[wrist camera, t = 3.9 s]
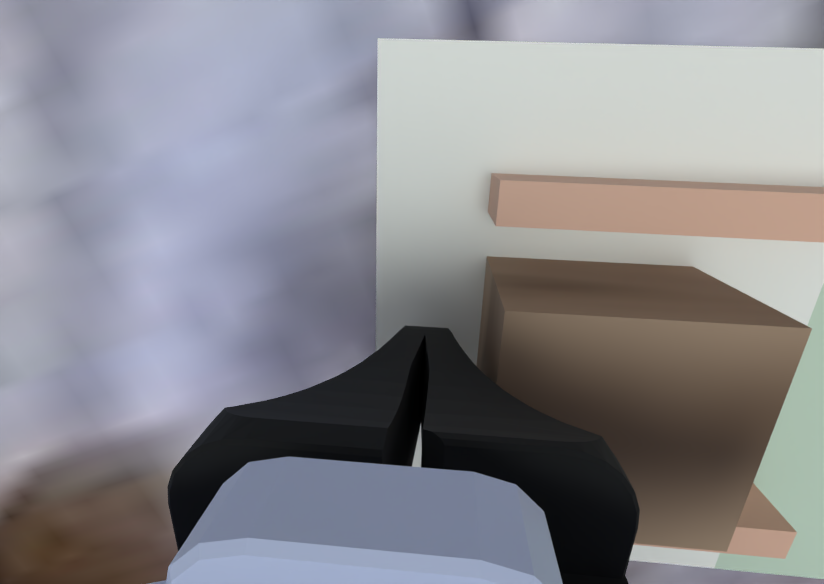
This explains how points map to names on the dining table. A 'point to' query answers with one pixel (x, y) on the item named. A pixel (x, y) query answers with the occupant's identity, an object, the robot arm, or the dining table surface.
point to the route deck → (617, 210)
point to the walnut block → (648, 378)
